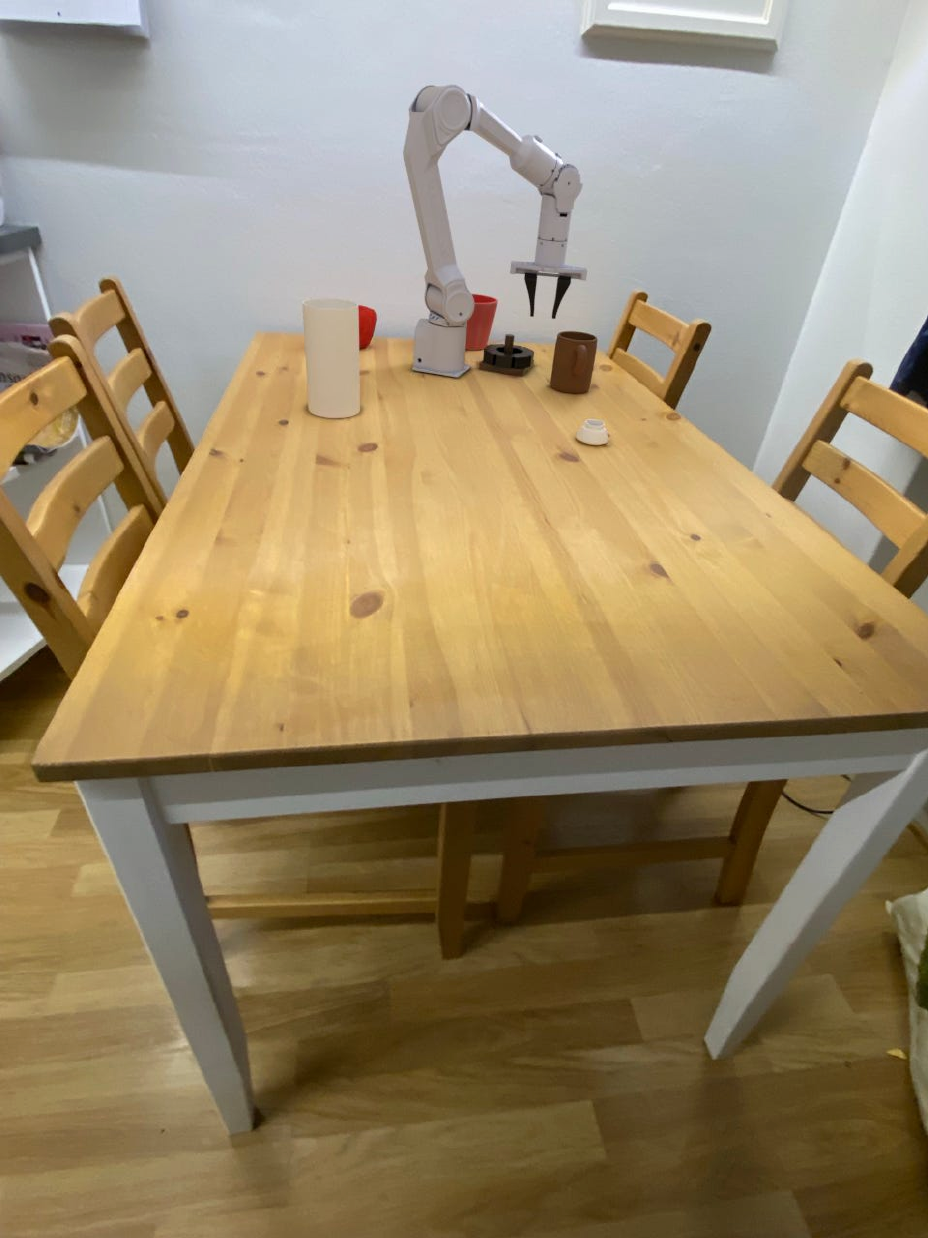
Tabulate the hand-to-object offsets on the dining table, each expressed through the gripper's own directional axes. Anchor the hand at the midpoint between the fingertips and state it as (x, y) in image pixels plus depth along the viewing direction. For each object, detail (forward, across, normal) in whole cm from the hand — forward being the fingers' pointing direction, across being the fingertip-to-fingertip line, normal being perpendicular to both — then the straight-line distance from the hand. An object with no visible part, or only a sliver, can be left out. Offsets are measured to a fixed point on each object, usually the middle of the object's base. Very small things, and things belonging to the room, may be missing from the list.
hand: (542, 316), depth 138 cm
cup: (+10, -32, -39) cm, 51 cm away
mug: (+10, +7, -16) cm, 20 cm away
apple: (+10, -38, 0) cm, 39 cm away
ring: (+8, -6, -4) cm, 11 cm away
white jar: (+10, +9, -41) cm, 43 cm away
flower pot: (+10, -15, +11) cm, 21 cm away
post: (+9, -6, -4) cm, 12 cm away
